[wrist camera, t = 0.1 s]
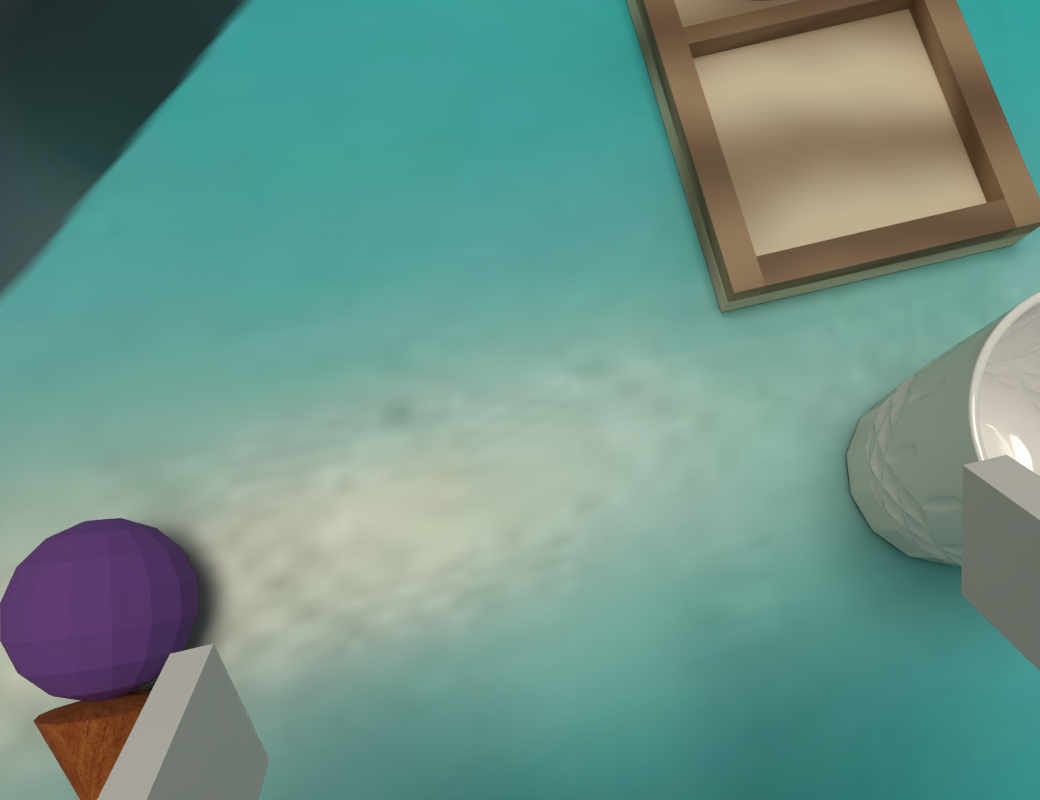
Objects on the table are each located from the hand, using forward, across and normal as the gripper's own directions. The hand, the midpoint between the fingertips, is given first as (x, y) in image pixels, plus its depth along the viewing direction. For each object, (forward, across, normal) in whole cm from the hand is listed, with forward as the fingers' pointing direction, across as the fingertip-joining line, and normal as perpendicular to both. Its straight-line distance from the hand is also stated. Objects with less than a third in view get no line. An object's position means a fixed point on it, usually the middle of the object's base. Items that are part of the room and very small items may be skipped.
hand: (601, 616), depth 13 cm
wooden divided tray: (+24, -14, -8) cm, 29 cm away
